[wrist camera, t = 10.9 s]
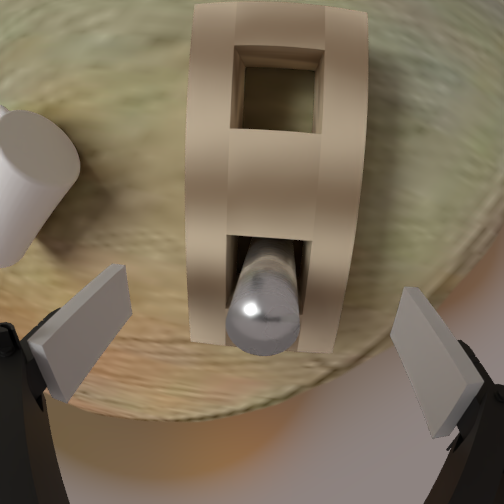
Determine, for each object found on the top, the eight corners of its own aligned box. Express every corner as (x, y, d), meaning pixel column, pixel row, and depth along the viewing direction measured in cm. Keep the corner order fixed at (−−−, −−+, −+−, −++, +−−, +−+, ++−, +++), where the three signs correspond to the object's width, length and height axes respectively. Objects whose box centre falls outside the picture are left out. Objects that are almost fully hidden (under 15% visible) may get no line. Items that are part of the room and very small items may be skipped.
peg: (251, 224, 21) (225, 291, 12) (295, 226, 21) (303, 297, 12) (249, 264, 22) (225, 352, 13) (291, 267, 22) (295, 358, 13)
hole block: (214, 32, 17) (194, 4, 12) (348, 39, 16) (367, 12, 11) (207, 303, 24) (190, 341, 19) (324, 312, 23) (332, 353, 18)
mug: (98, 176, 21) (27, 198, 14) (41, 248, 24) (-17, 284, 16) (33, 81, 18) (-33, 77, 11) (-13, 159, 21) (-71, 174, 14)
